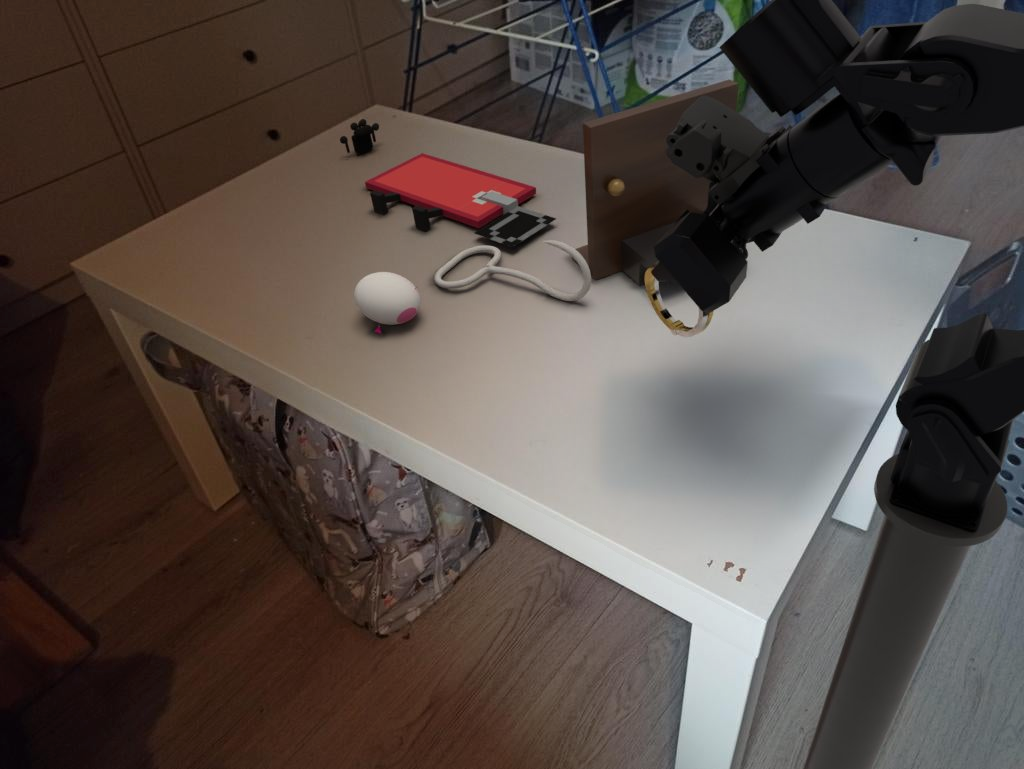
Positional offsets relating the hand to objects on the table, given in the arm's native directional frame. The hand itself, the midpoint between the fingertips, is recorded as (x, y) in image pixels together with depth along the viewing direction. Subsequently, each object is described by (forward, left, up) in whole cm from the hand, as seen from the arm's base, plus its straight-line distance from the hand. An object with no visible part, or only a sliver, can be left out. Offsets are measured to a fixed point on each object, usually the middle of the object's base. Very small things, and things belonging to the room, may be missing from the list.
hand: (663, 265), depth 66 cm
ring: (-2, 0, -7) cm, 7 cm away
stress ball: (+31, +2, -14) cm, 34 cm away
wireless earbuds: (+64, -30, -14) cm, 72 cm away
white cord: (+22, -9, -14) cm, 27 cm away
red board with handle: (+40, -22, -14) cm, 48 cm away
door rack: (+9, -21, -14) cm, 26 cm away
